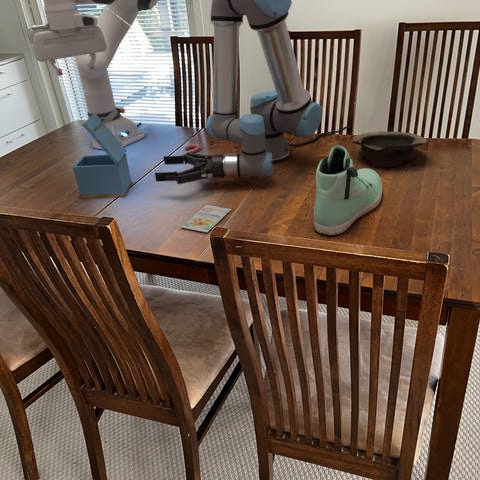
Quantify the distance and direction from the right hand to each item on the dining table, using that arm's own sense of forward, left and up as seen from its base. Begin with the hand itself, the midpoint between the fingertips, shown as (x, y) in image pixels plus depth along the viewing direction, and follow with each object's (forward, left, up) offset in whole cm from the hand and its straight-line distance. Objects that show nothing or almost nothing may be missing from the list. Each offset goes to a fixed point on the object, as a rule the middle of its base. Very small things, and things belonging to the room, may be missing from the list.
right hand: (160, 168), depth 156 cm
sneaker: (-45, +42, -7) cm, 62 cm away
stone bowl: (-77, +16, -7) cm, 79 cm away
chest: (+18, -8, -7) cm, 21 cm away
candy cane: (-16, -26, -7) cm, 31 cm away
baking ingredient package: (-6, +28, -7) cm, 29 cm away
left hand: (+18, -8, +32) cm, 38 cm away
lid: (+15, -7, +11) cm, 20 cm away
